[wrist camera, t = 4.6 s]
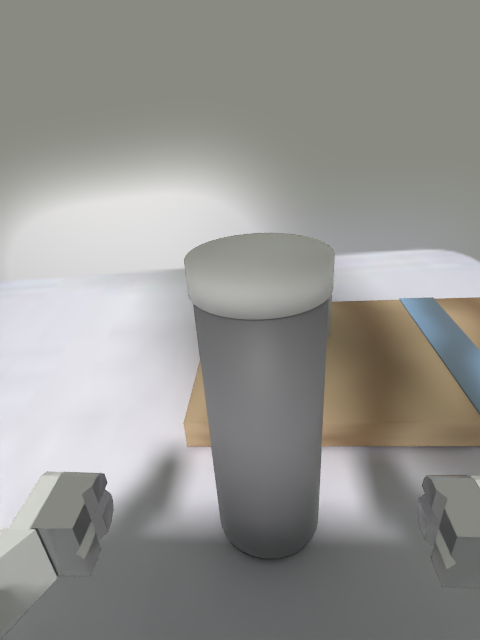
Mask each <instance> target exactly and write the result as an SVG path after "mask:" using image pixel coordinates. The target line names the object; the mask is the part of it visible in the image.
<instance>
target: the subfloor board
mask: <svg viewBox="0 0 480 640" xmlns="http://www.w3.org/2000/svg"><path fill="white" fill-rule="evenodd" d="M184 429H185V435H186V441H187V447H211V440H210V432H209V424H208V417H207V409H206V401H205V393H204V385H203V377H202V369H201V361H200V362H199V366H198V370H197V374H196V378H195V382H194V385H193V389H192V393H191V397H190V401H189V405H188V409H187V412H186V416H185V420H184ZM322 446H480V297H479V298H445V299H434V298H403V299H399V300H377V301H343V302H332V306H331V325H330V337H327V345H326V365H325V386H324V406H323V427H322Z"/></svg>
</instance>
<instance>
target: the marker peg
mask: <svg viewBox="0 0 480 640" xmlns="http://www.w3.org/2000/svg"><path fill="white" fill-rule="evenodd" d="M334 257H335V253H334V250H333V249H332V248H331V247H330V246H329V245H328V244H326V243H324V242H322V241H320V240H317V239H314V238H310V237H306V236H301V235H295V234H284V233H255V234H243V235H235V236H230V237H224V238H220V239H216V240H213V241H210V242H207V243H204V244H202V245H200V246H198V247H196V248H194V249H193V250H191V251H190V252H189V253H188V254H187V255H186V257H185V259H184V264H185V271H186V279H187V287H188V294H189V298H190V300H191V301H192V303H193V306H194V314H195V322H196V330H197V337H198V345H199V353H200V361H201V369H202V377H203V385H204V393H205V401H206V409H207V417H208V424H209V432H210V440H211V448H212V456H213V464H214V472H215V480H216V488H217V496H218V504H219V511H220V519H221V524H222V528H223V530H224V532H225V534H226V536H227V537H228V539H229V540H230V541H231V542H232V543H233V544H234V545H235V546H236V547H237V548H238V549H240V550H241V551H243V552H245V553H247V554H249V555H251V556H254V557H258V558H264V559H276V558H282V557H286V556H289V555H291V554H293V553H295V552H297V551H299V550H300V549H302V548H303V547H304V546H305V545H306V544H307V543H308V542H309V541H310V539H311V538H312V536H313V534H314V532H315V530H316V527H317V523H318V509H319V488H320V468H321V447H322V427H323V406H324V386H325V365H326V345H327V324H328V304H329V297H330V296H331V293H332V291H333V276H334Z"/></svg>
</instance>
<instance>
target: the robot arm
mask: <svg viewBox="0 0 480 640" xmlns="http://www.w3.org/2000/svg"><path fill="white" fill-rule="evenodd" d="M106 485H107V480H106V477H105V474H102V473H80V472H46V473H44V474H43V475H42V476H41V477H40V478H39V480H38V482H37V483H36V485H35V486H34V488H33V490H32V491H31V493H30V494H29V496H28V498H27V499H26V501H25V503H24V504H23V506H22V507H21V509H20V511H19V512H18V514H17V515H16V517H15V519H14V520H13V522H12V524H11V525H10V527H9V528H8V529H2V530H0V640H1V639H2V638H3V636H4V635H5V634H6V633H7V632H8V631H9V630H10V629H11V628H12V627H13V626H14V625H15V624H16V622H17V621H18V620H19V619H20V618H21V617H22V616H23V615H24V614H25V613H26V612H27V611H28V610H29V609H30V607H31V606H32V605H33V604H34V603H35V602H36V601H37V600H38V599H39V598H40V597H41V596H42V595H43V593H44V592H45V591H46V590H47V589H48V588H49V587H50V586H51V585H52V584H53V583H54V582H55V581H56V580H57V578H58V577H57V576H91V575H92V572H93V570H94V567H95V564H96V562H97V559H98V556H99V554H100V551H101V547H100V544H99V540H100V539H101V538H102V537H103V536H104V535H105V534H106V533H107V532H108V530H109V527H110V524H111V521H112V515H113V499H112V496H111V494H110V493H109V492H108V491H106V490H105V487H106ZM422 487H423V490H424V492H425V494H424V495H423V496H422V497H420V498H419V502H418V520H419V524H420V529H421V532H422V534H423V537H424V539H425V540H426V541H427V542H428V543H429V544H430V545H431V546H432V547H433V551H432V555H431V559H432V562H433V565H434V567H435V570H436V573H437V575H438V578H439V581H440V584H441V586H442V587H458V588H476V589H480V476H467V475H427V476H426V477H425V478H424V480H423V484H422Z"/></svg>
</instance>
